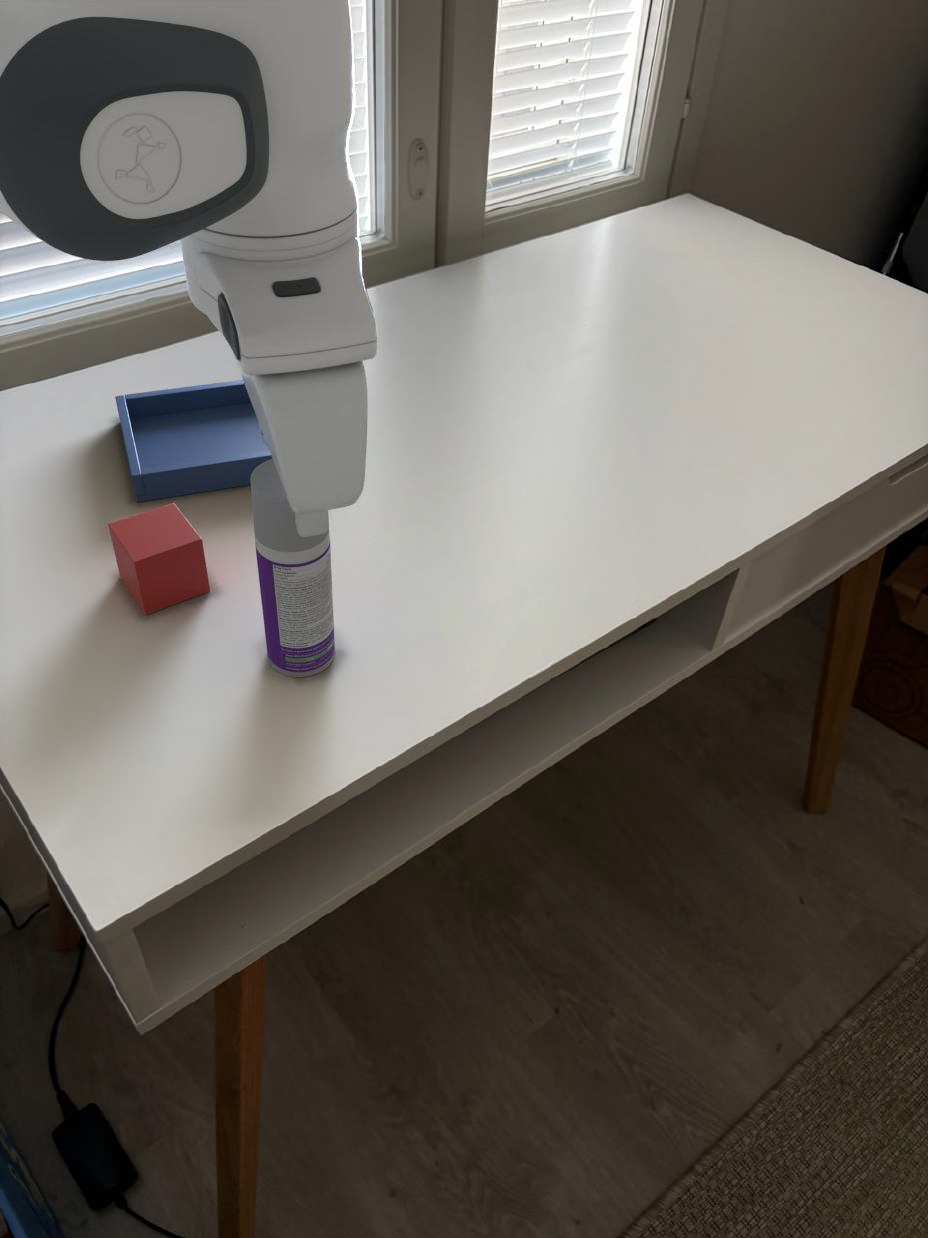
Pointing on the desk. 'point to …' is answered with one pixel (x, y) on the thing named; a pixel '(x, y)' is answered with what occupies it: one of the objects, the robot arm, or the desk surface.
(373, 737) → the desk surface
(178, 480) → the tray
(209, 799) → the desk surface
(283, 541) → the container
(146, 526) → the red block
